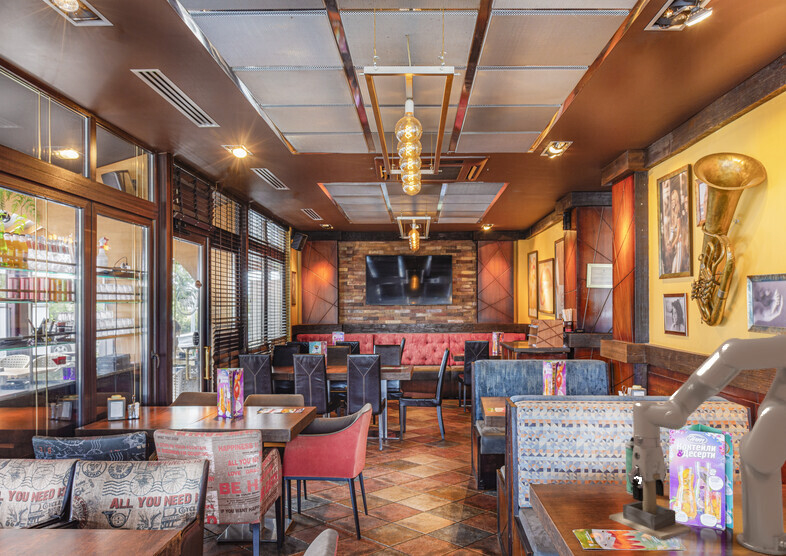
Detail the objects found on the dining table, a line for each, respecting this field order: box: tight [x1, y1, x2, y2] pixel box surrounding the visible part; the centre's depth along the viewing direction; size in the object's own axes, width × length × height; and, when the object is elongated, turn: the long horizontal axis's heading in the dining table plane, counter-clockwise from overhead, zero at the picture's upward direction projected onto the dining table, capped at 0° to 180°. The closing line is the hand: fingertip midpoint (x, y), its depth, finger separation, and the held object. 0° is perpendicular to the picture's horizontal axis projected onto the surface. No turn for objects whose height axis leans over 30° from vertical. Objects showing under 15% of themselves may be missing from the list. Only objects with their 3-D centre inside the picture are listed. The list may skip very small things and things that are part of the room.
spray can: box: [625, 436, 644, 496], centre depth 194 cm, size 6×6×20 cm
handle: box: [643, 474, 660, 515], centre depth 166 cm, size 5×6×15 cm
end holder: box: [608, 500, 692, 541], centre depth 165 cm, size 18×14×5 cm
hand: (648, 497), depth 166 cm, fingers open, 9 cm apart
